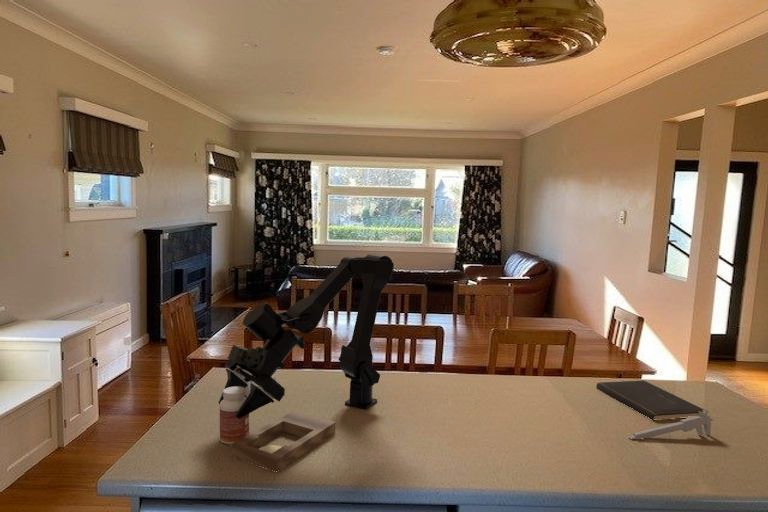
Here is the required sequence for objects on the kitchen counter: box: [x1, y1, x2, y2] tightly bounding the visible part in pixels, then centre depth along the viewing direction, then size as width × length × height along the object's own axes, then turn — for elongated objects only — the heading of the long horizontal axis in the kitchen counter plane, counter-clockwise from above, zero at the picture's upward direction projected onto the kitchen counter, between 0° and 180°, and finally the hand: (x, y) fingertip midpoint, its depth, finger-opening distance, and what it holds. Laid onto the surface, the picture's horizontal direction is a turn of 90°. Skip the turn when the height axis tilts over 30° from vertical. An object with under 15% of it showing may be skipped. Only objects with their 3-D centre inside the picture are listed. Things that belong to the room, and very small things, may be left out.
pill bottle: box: [219, 386, 250, 446], centre depth 107 cm, size 6×6×11 cm
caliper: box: [628, 409, 712, 440], centre depth 114 cm, size 20×1×6 cm, turn 99°
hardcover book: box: [596, 379, 709, 421], centre depth 136 cm, size 16×23×2 cm
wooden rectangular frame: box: [230, 410, 336, 473], centre depth 106 cm, size 20×12×2 cm, turn 151°
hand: (228, 411), depth 106 cm, fingers open, 8 cm apart
